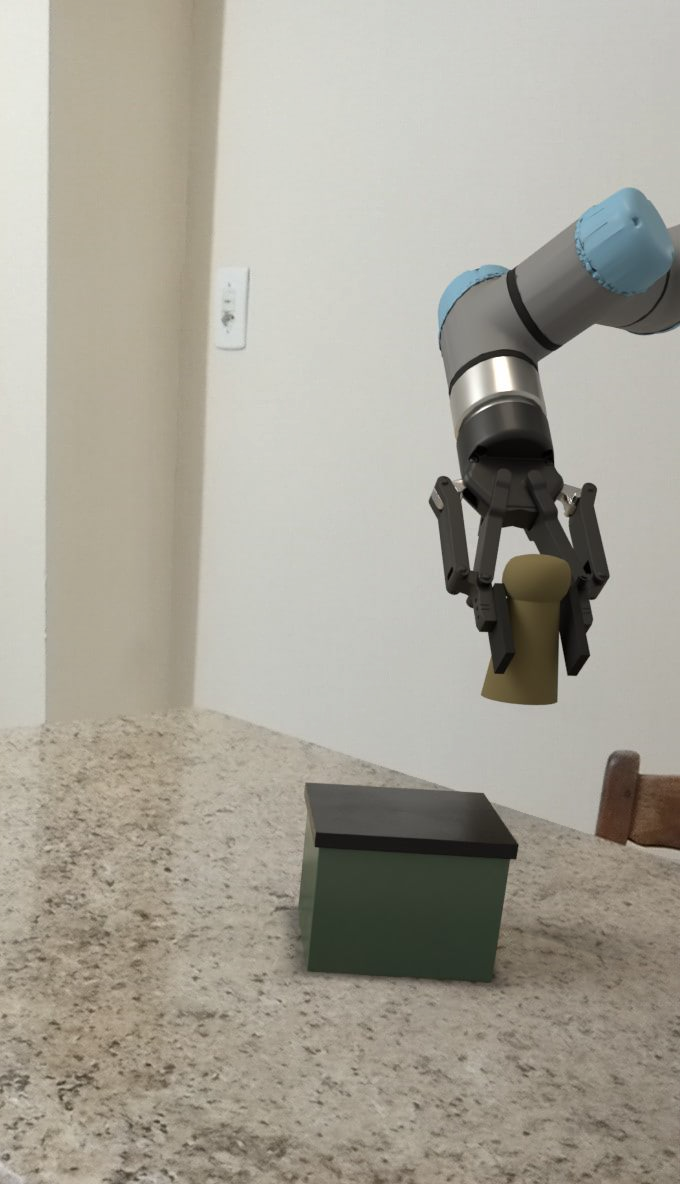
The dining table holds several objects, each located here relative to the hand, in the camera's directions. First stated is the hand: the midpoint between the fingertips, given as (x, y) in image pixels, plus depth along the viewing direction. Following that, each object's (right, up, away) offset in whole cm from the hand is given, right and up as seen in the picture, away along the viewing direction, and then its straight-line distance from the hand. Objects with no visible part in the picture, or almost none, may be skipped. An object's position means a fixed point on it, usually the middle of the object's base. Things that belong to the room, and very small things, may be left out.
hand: (541, 664), depth 105 cm
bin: (-14, -22, -10) cm, 28 cm away
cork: (0, -2, +5) cm, 5 cm away
